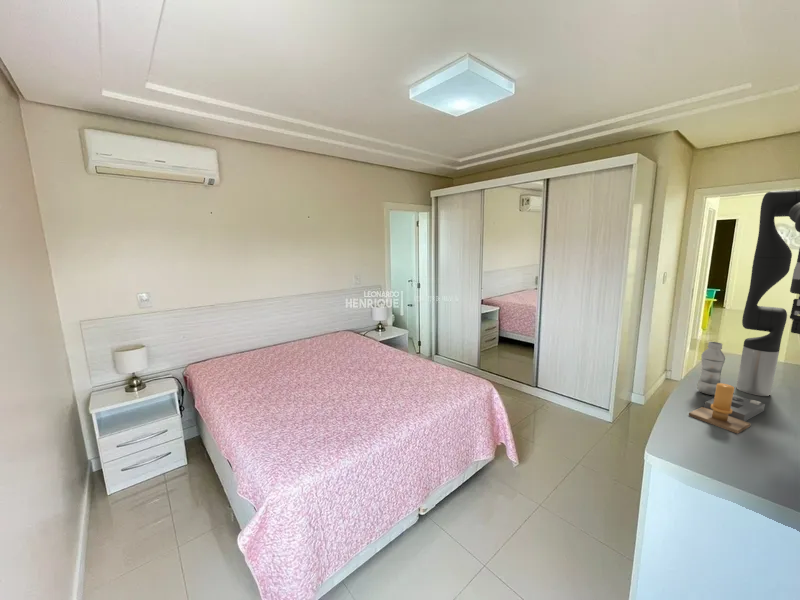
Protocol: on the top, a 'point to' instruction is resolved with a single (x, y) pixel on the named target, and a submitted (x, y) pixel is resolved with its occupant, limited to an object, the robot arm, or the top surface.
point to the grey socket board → (741, 407)
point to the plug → (722, 401)
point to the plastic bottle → (711, 368)
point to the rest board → (730, 424)
